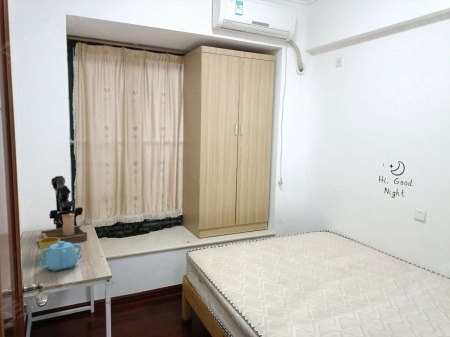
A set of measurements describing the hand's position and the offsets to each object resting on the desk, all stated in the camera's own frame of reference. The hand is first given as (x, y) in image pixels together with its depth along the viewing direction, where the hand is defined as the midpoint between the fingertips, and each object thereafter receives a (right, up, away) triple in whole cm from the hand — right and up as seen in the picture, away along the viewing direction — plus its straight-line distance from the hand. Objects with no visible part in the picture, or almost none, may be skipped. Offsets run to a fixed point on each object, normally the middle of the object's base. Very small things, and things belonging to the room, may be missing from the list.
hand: (68, 223), depth 194 cm
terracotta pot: (-1, -6, +2) cm, 7 cm away
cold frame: (-9, -13, +11) cm, 19 cm away
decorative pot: (+11, -17, -30) cm, 36 cm away
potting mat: (0, -14, +1) cm, 14 cm away
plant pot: (-2, -16, -17) cm, 23 cm away
